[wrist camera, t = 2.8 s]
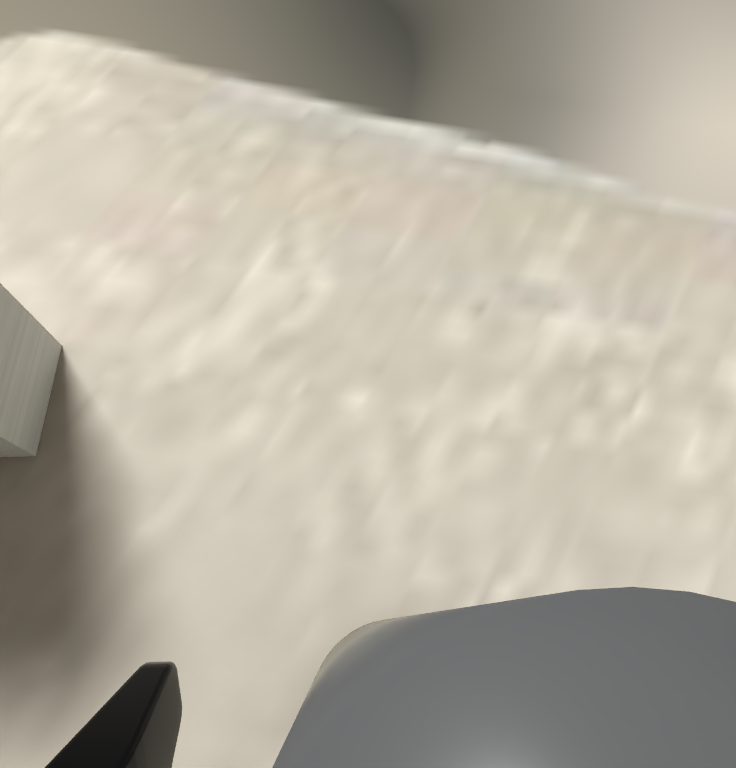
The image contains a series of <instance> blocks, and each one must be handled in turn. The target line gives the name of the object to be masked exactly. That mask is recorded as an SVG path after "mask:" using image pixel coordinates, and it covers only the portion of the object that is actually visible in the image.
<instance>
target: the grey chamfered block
mask: <svg viewBox="0 0 736 768" xmlns="http://www.w3.org/2000/svg"><path fill="white" fill-rule="evenodd" d="M61 349H62V345H61V344H60V343H59V342H58V341H57V340H56V339H55V338H54V337H53V336H52V335H51V334H50V333H49V332H48V331H47V330H46V329H45V328H44V327H43V326H42V325H41V324H40V323H39V322H38V321H37V320H36V319H35V318H34V317H33V316H32V315H31V314H30V313H29V312H28V311H27V310H26V309H25V308H24V307H23V306H22V305H21V304H20V303H19V302H18V301H17V300H16V299H15V298H14V297H13V296H12V295H11V294H10V293H9V292H8V291H7V290H6V289H5V288H4V287H3V285H2V284H1V283H0V457H36V454H37V450H38V446H39V441H40V437H41V433H42V429H43V425H44V420H45V416H46V412H47V408H48V404H49V399H50V395H51V391H52V387H53V383H54V378H55V374H56V370H57V366H58V362H59V357H60V353H61Z"/></svg>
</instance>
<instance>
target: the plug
mask: <svg viewBox="0 0 736 768" xmlns="http://www.w3.org/2000/svg"><path fill="white" fill-rule="evenodd" d="M273 768H736V602H733V601H728V600H724V599H719V598H715V597H710V596H706V595H701V594H697V593H692V592H685V591H673V590H662V589H650V588H638V587H625V588H608V589H591V590H576V591H569V592H563V593H556V594H550V595H543V596H537V597H530V598H524V599H517V600H511V601H504V602H498V603H491V604H485V605H478V606H472V607H465V608H459V609H452V610H446V611H439V612H432V613H426V614H419V615H413V616H406V617H400V618H393V619H387V620H381V621H377V622H372V623H370V624H367V625H364V626H362V627H360V628H358V629H356V630H354V631H353V632H351V633H350V634H349V635H347V636H346V637H344V638H343V639H342V640H341V641H340V642H339V643H338V644H337V645H336V646H335V647H334V648H333V649H332V651H331V652H330V653H329V654H328V655H327V657H326V659H325V660H324V662H323V663H322V665H321V667H320V669H319V671H318V673H317V675H316V677H315V679H314V681H313V684H312V686H311V688H310V690H309V692H308V694H307V696H306V698H305V700H304V702H303V705H302V707H301V709H300V711H299V713H298V715H297V717H296V719H295V721H294V723H293V726H292V728H291V730H290V732H289V734H288V736H287V738H286V740H285V742H284V744H283V747H282V749H281V751H280V753H279V755H278V757H277V759H276V761H275V763H274V765H273Z"/></svg>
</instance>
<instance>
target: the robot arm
mask: <svg viewBox="0 0 736 768" xmlns="http://www.w3.org/2000/svg"><path fill="white" fill-rule="evenodd" d="M181 715H182V701H181V694H180V687H179V680H178V673H177V668H176V666H175V664H174V663H173V662H149V663H145V664H144V665H142V666H141V667H140V668H139V669H138V670H137V671H136V672H135V673H134V674H133V675H132V676H131V677H130V678H129V679H128V680H127V681H126V682H125V684H124V685H123V686H122V687H121V688H120V689H119V690H118V691H117V692H116V693H115V694H114V695H113V696H112V697H111V698H110V699H109V700H108V701H107V703H106V704H105V705H104V706H103V707H102V708H101V709H100V710H99V711H98V712H97V713H96V714H95V715H94V716H93V717H92V718H91V719H90V721H89V722H88V723H87V724H86V725H85V726H84V727H83V728H82V729H81V730H80V731H79V732H78V733H77V734H76V735H75V736H74V737H73V738H72V740H71V741H70V742H69V743H68V744H67V745H66V746H65V747H64V748H63V749H62V750H61V751H60V752H59V753H58V754H57V755H56V756H55V757H54V759H53V760H52V761H51V762H50V763H49V764H48V765H47V766H46V767H45V768H171V767H172V762H173V757H174V752H175V747H176V742H177V737H178V732H179V727H180V722H181Z"/></svg>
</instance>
